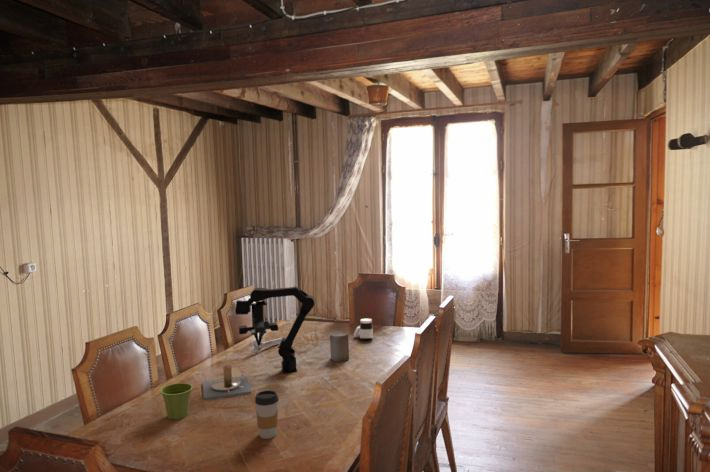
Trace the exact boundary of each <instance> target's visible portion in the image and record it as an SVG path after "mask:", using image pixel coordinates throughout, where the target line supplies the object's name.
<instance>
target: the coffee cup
mask: <svg viewBox="0 0 710 472" xmlns="http://www.w3.org/2000/svg"><path fill="white" fill-rule="evenodd" d="M254 403H255V409H256V410H255V413H256V421H257V430H258V435H259V437H260V438H261V439H265V440H267V439H272V438H274V437H276V435H277V432H278V418H279V417H278V415H279V408H278V407H279V405H278V404H279V395H278V394H277V392H276V391H274V390H261V391H259V392H257V393H256V395H255V397H254Z"/></svg>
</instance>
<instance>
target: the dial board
mask: <svg viewBox="0 0 710 472" xmlns="http://www.w3.org/2000/svg"><path fill="white" fill-rule="evenodd" d="M232 378H238V379H240V380H241V386H239V387H238V388H236V389H233V390H228V391H215V390H213V389H212V388H211V384H212V382H214V381H215V380H218V379H219V378H218V379H211V380H210V379H209V380H203V381H202V393H203V401H208V400H215V399H216V400H217V399H223V398H230V397H236V396H242V395H249V394H252V392H253V391H252V388H251V385H250V382H249V380H248V376H247V375H241V376H232Z"/></svg>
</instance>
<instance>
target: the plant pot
mask: <svg viewBox="0 0 710 472" xmlns="http://www.w3.org/2000/svg"><path fill="white" fill-rule="evenodd" d="M193 388H194V387H193V385H192V384H191V383H187V382H175V383H170V384H168V385H165V386H163V387H161V389H160V393H161V394H162V398H163V400H164V404H165V410H166V414H167V418H168V419H170V420H181V419H184V418H185V417H186V416H188V411H189V403H190V396H191V392H192V389H193Z"/></svg>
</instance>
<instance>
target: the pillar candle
mask: <svg viewBox="0 0 710 472" xmlns="http://www.w3.org/2000/svg"><path fill="white" fill-rule="evenodd" d="M329 341H330V343H329V346H330V360H331V361H333V362H336V363H337V362H338V363H339V362H340V363H342V362H346V361H348V360H350V353H349V352H350V350H349V348H350V346H349V345H350V343H349V332H348V331H345V330H338V331H337V330H336V331H332V332H330V333H329Z"/></svg>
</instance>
